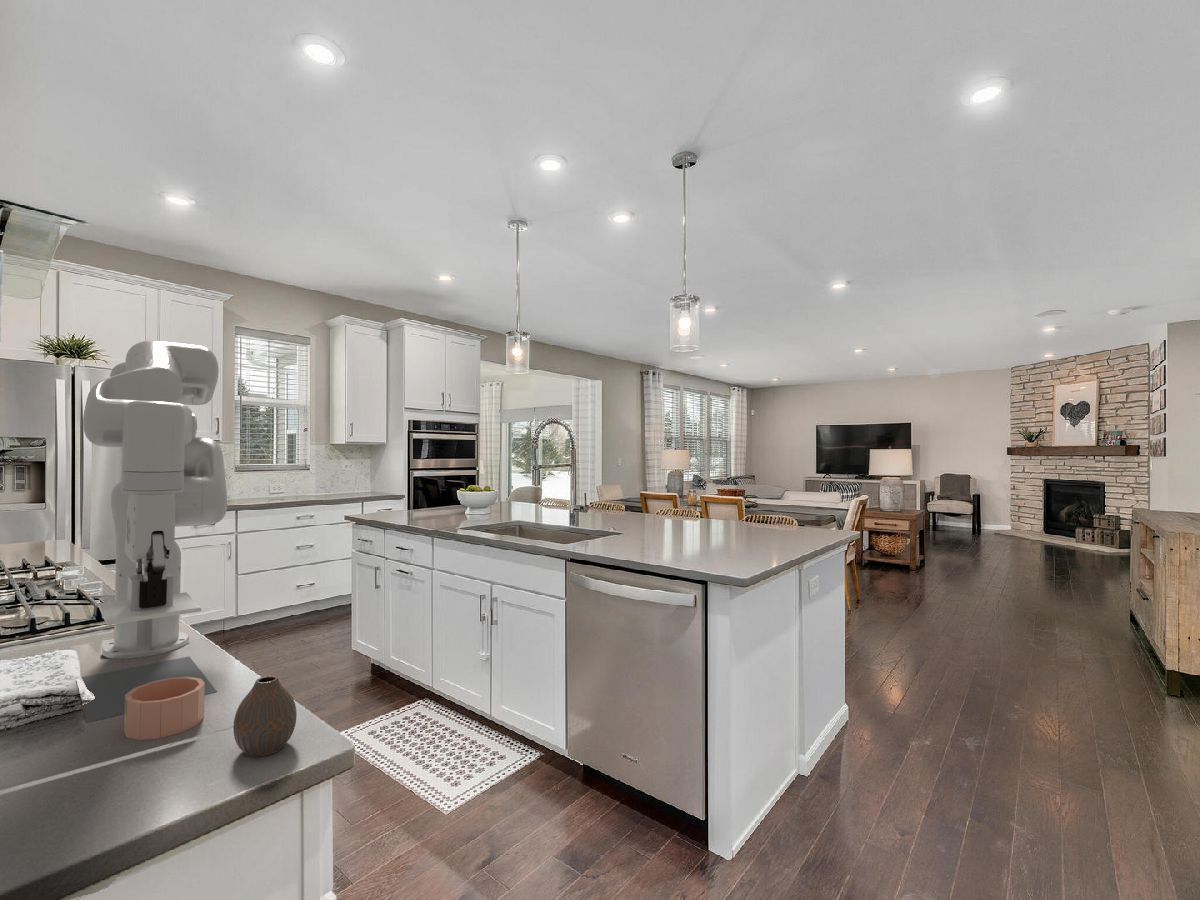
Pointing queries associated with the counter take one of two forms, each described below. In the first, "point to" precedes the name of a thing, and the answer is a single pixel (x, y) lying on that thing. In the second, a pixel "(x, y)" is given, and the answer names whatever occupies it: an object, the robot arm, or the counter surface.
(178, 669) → the mat
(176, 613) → the square base with block
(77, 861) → the counter surface
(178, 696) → the bowl
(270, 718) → the vase
